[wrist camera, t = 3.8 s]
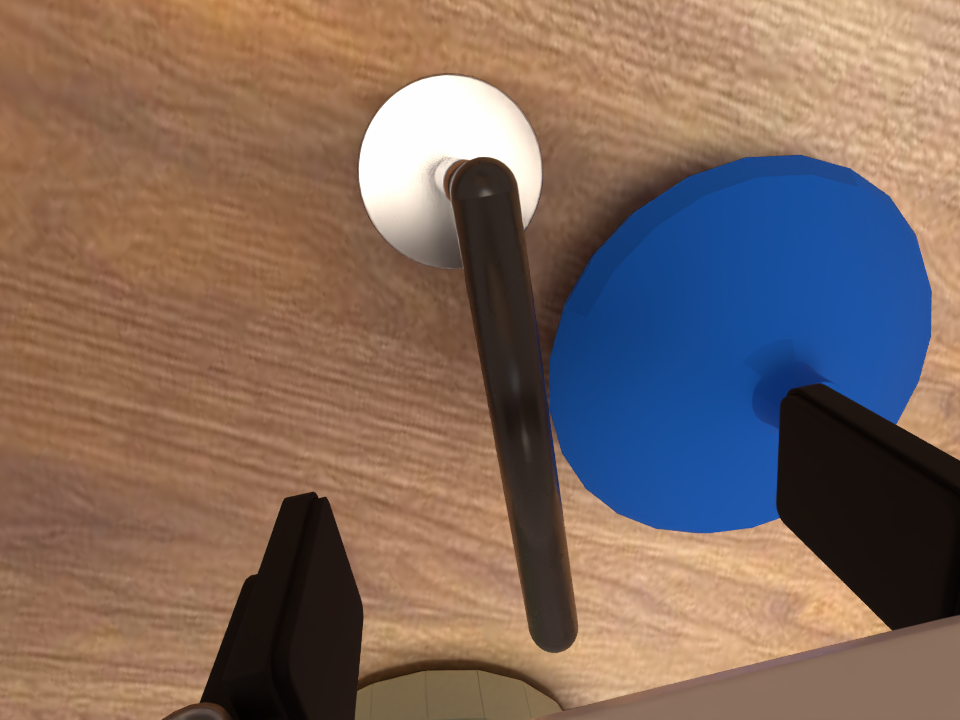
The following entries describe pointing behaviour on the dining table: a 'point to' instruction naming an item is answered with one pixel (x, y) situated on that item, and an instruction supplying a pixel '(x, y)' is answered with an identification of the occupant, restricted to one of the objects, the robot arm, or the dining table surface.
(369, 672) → the dining table surface
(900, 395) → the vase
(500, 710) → the bowl
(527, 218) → the ladle
